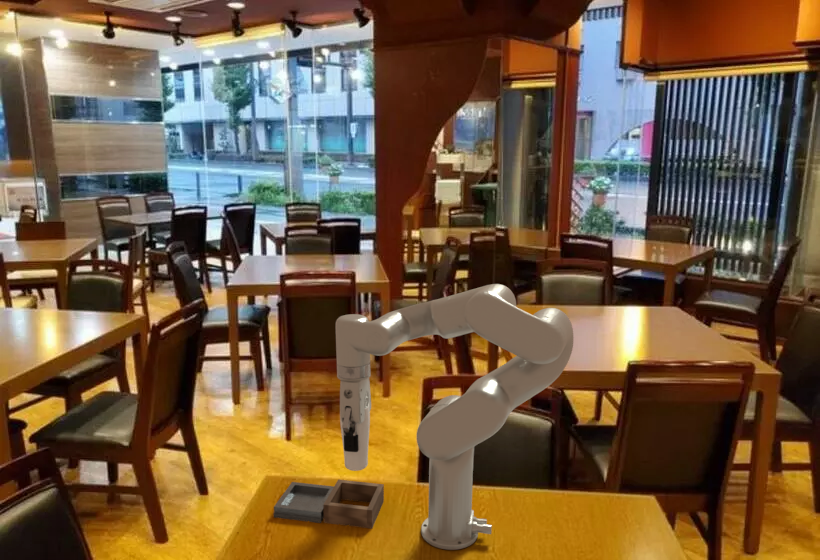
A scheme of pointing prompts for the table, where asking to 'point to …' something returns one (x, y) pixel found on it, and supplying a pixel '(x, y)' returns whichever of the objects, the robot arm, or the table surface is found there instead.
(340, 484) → the frame
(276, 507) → the metal cradle
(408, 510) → the table surface
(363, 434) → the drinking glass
